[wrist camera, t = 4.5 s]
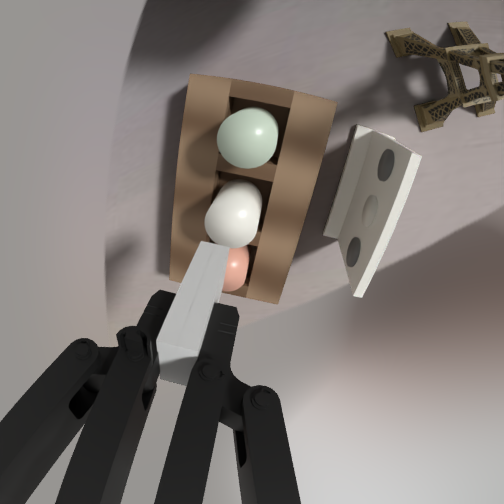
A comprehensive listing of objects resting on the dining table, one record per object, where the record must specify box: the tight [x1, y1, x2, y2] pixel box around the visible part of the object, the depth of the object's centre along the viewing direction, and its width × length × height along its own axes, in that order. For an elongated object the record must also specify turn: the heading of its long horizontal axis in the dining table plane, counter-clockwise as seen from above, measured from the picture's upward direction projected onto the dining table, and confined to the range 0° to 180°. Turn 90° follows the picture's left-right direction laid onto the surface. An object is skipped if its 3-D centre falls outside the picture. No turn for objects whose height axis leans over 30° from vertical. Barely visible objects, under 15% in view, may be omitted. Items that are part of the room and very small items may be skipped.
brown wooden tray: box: [169, 74, 338, 304], centre depth 28 cm, size 21×12×4 cm, turn 169°
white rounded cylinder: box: [204, 179, 262, 248], centre depth 24 cm, size 4×4×5 cm
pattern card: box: [323, 124, 422, 297], centre depth 24 cm, size 12×4×10 cm, turn 169°
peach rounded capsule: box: [214, 243, 251, 291], centre depth 30 cm, size 4×4×5 cm
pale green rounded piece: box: [217, 107, 278, 169], centre depth 21 cm, size 4×4×5 cm
